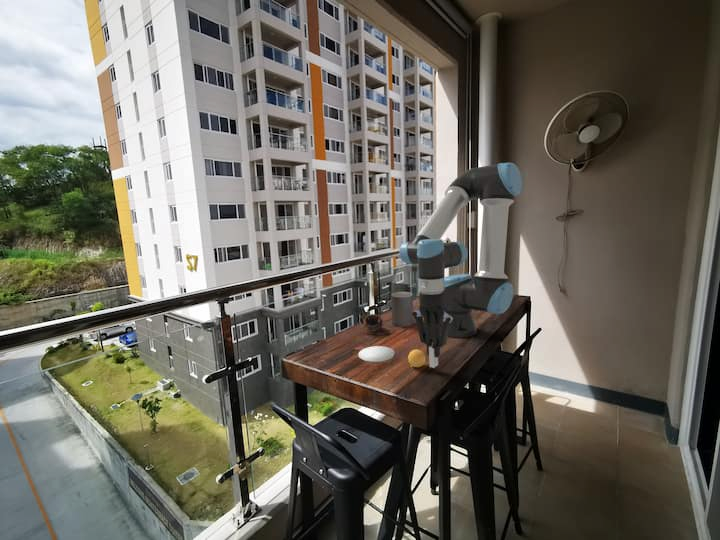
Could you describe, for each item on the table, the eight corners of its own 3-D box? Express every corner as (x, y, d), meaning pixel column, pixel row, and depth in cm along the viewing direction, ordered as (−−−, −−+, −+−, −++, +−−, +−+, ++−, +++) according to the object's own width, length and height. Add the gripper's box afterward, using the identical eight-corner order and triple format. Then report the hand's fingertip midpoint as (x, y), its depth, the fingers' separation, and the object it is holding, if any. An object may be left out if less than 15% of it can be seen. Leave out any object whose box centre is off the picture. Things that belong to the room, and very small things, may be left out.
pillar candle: (387, 324, 148) (386, 292, 145) (401, 318, 154) (400, 287, 151) (404, 329, 140) (402, 295, 138) (418, 323, 147) (417, 290, 144)
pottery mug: (388, 328, 143) (387, 316, 138) (377, 344, 137) (375, 331, 132) (365, 319, 149) (363, 306, 144) (353, 333, 143) (351, 321, 138)
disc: (374, 344, 126) (374, 343, 126) (402, 351, 117) (402, 351, 117) (350, 355, 116) (350, 355, 116) (379, 365, 108) (379, 364, 107)
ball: (414, 361, 109) (414, 345, 108) (429, 365, 105) (428, 349, 104) (405, 367, 105) (404, 351, 104) (419, 371, 101) (419, 355, 100)
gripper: (406, 291, 99) (409, 365, 102) (445, 296, 90) (447, 376, 94) (419, 286, 104) (421, 356, 108) (457, 291, 95) (459, 366, 99)
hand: (433, 365), depth 101 cm, fingers closed
